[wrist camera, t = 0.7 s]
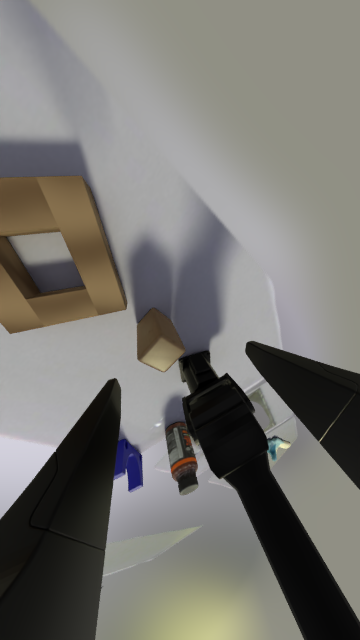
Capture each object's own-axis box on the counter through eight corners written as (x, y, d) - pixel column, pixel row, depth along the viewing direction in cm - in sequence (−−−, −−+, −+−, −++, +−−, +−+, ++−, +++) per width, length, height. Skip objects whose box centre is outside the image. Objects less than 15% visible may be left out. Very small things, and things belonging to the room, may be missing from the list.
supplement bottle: (189, 424, 38) (208, 483, 29) (173, 436, 39) (185, 498, 29) (178, 418, 35) (193, 481, 25) (160, 431, 36) (169, 499, 26)
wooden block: (152, 305, 20) (161, 333, 13) (171, 320, 22) (188, 351, 15) (135, 325, 21) (135, 361, 14) (156, 337, 23) (164, 374, 16)
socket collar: (127, 303, 19) (126, 309, 17) (26, 323, 17) (10, 333, 14) (90, 188, 13) (81, 175, 11) (-72, 194, 11) (-123, 180, 9)
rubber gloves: (253, 467, 84) (261, 482, 78) (227, 466, 68) (235, 485, 62) (288, 441, 80) (300, 455, 75) (270, 433, 64) (283, 450, 59)
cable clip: (105, 446, 32) (99, 483, 27) (124, 437, 33) (122, 472, 28) (126, 462, 38) (124, 495, 33) (141, 455, 39) (142, 486, 33)
